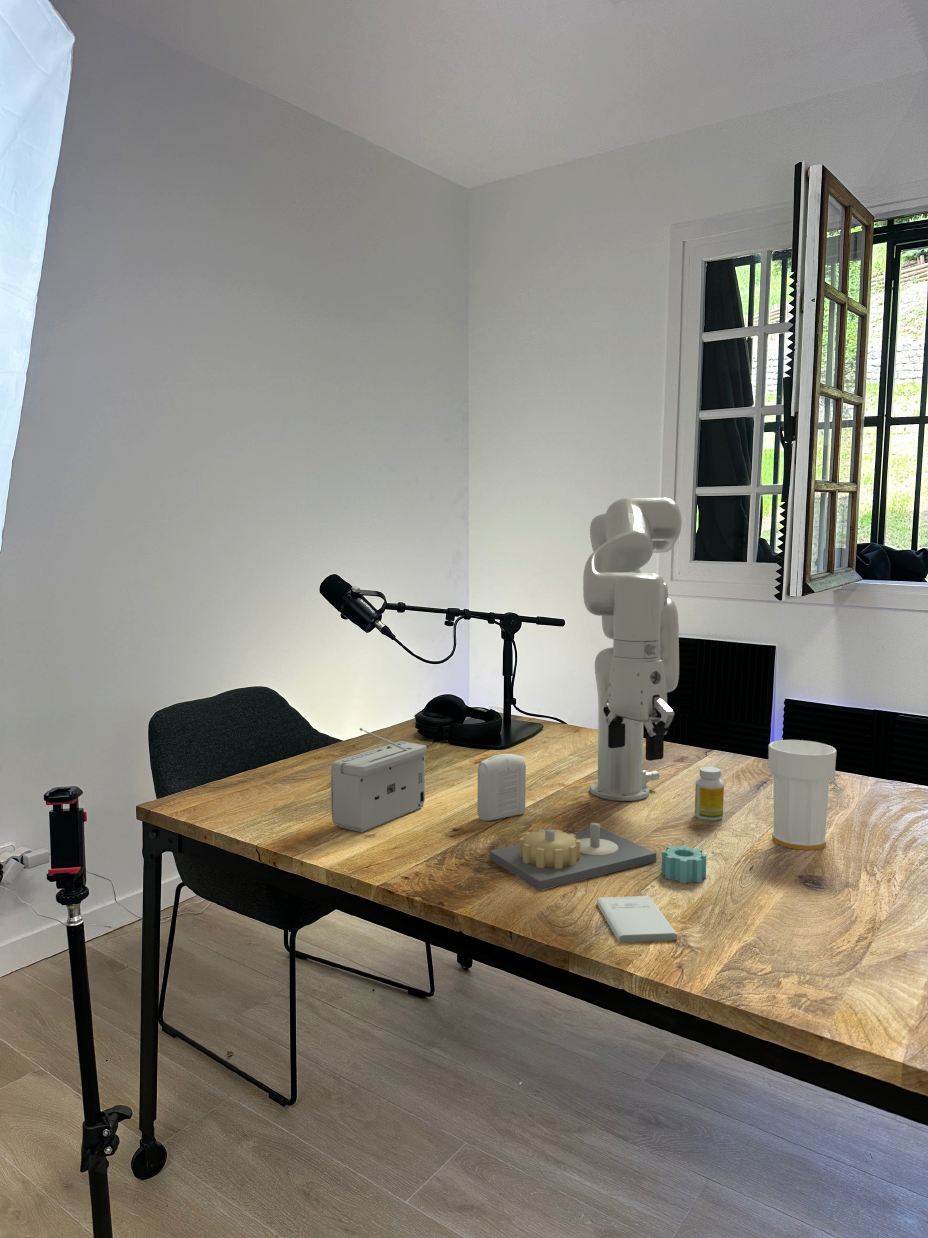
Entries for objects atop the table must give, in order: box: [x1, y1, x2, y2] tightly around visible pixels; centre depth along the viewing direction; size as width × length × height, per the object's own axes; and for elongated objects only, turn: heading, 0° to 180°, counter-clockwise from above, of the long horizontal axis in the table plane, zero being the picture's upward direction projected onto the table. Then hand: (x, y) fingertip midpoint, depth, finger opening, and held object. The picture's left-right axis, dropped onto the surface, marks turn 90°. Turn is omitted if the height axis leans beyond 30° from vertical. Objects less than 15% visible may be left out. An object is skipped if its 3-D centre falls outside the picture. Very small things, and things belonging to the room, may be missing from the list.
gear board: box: [489, 822, 657, 891], centre depth 145 cm, size 24×15×6 cm, turn 120°
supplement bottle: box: [694, 766, 725, 822], centre depth 167 cm, size 5×5×10 cm
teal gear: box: [661, 845, 707, 884], centre depth 139 cm, size 7×7×4 cm
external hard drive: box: [596, 895, 678, 943], centre depth 122 cm, size 2×8×12 cm
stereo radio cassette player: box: [330, 727, 428, 834], centre depth 167 cm, size 21×8×20 cm, turn 145°
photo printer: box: [476, 753, 527, 822], centre depth 168 cm, size 10×4×12 cm, turn 123°
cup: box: [768, 739, 837, 851], centre depth 153 cm, size 11×11×17 cm
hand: (634, 753), depth 141 cm, fingers open, 9 cm apart
